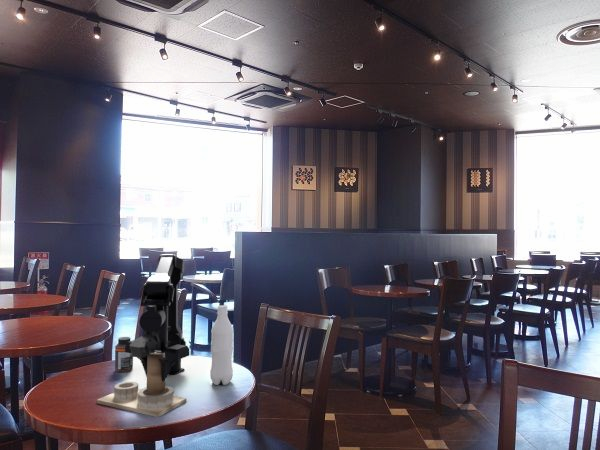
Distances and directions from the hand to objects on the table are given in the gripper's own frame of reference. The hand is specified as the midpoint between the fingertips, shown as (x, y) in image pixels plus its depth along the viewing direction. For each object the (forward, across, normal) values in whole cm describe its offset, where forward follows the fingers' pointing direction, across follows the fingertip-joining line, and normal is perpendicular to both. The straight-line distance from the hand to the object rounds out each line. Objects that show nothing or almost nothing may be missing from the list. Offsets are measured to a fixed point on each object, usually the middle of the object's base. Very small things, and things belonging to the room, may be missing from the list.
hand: (156, 379), depth 127 cm
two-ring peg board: (+7, -5, 0) cm, 9 cm away
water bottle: (+8, +6, +24) cm, 26 cm away
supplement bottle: (+8, -32, +20) cm, 38 cm away
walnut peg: (+3, 0, 0) cm, 3 cm away
